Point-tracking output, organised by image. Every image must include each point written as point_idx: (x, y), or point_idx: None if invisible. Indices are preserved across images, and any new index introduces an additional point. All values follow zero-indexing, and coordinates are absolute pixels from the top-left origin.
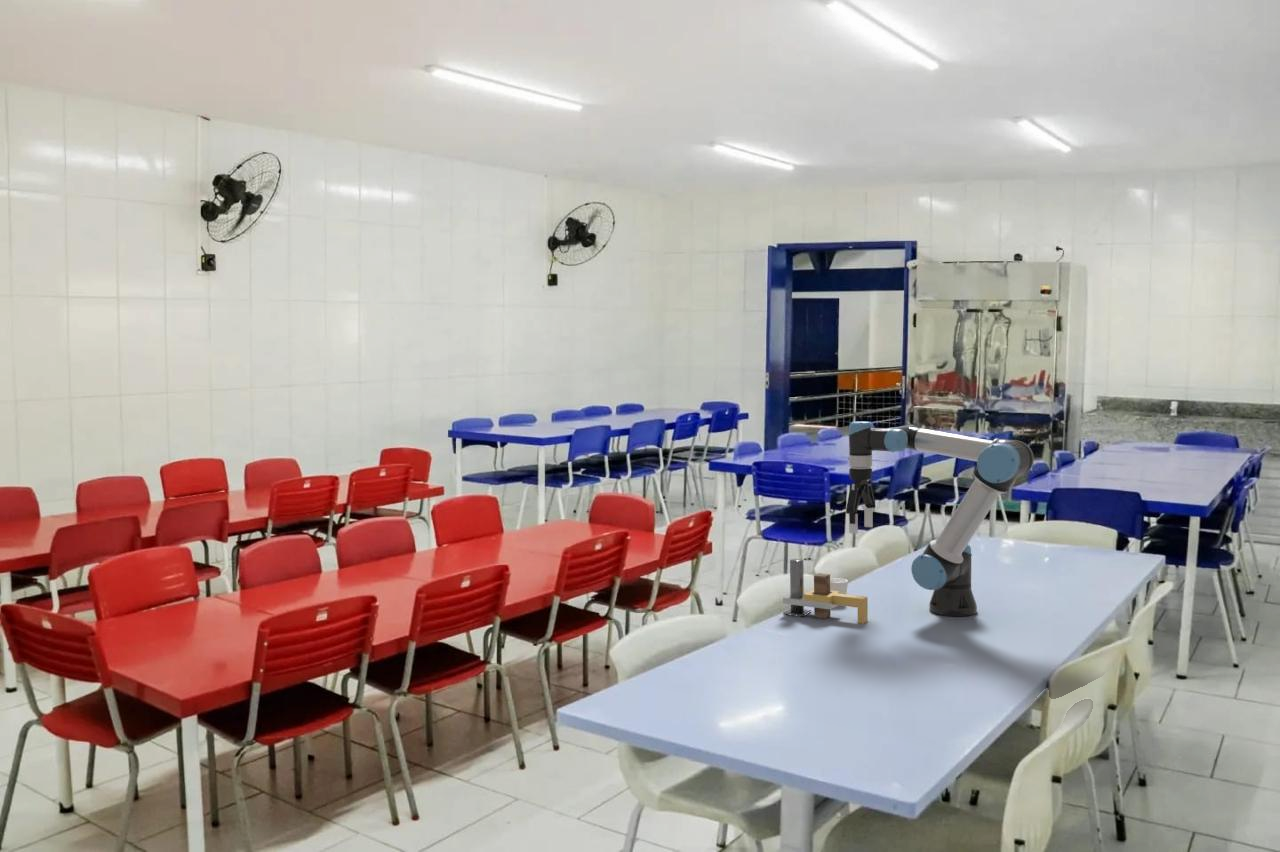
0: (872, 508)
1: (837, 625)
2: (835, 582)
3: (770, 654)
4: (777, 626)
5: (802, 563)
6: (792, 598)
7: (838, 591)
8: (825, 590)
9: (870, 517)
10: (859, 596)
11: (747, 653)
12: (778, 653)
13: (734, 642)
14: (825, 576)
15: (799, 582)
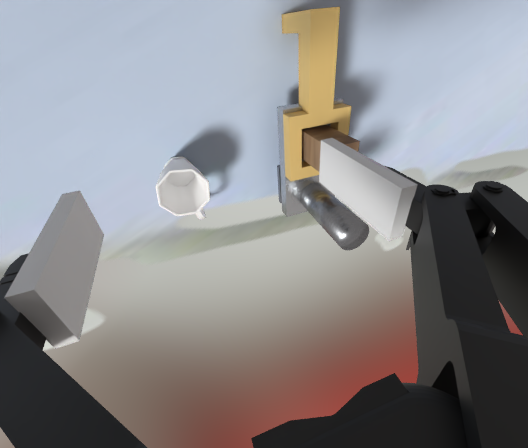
0: (9, 294)
1: (341, 63)
2: (208, 184)
3: (516, 66)
4: (379, 153)
5: (353, 219)
6: None
7: (291, 121)
8: (337, 131)
9: (69, 239)
10: (317, 35)
11: (509, 99)
12: (512, 57)
13: (463, 148)
14: (357, 142)
15: (336, 198)
